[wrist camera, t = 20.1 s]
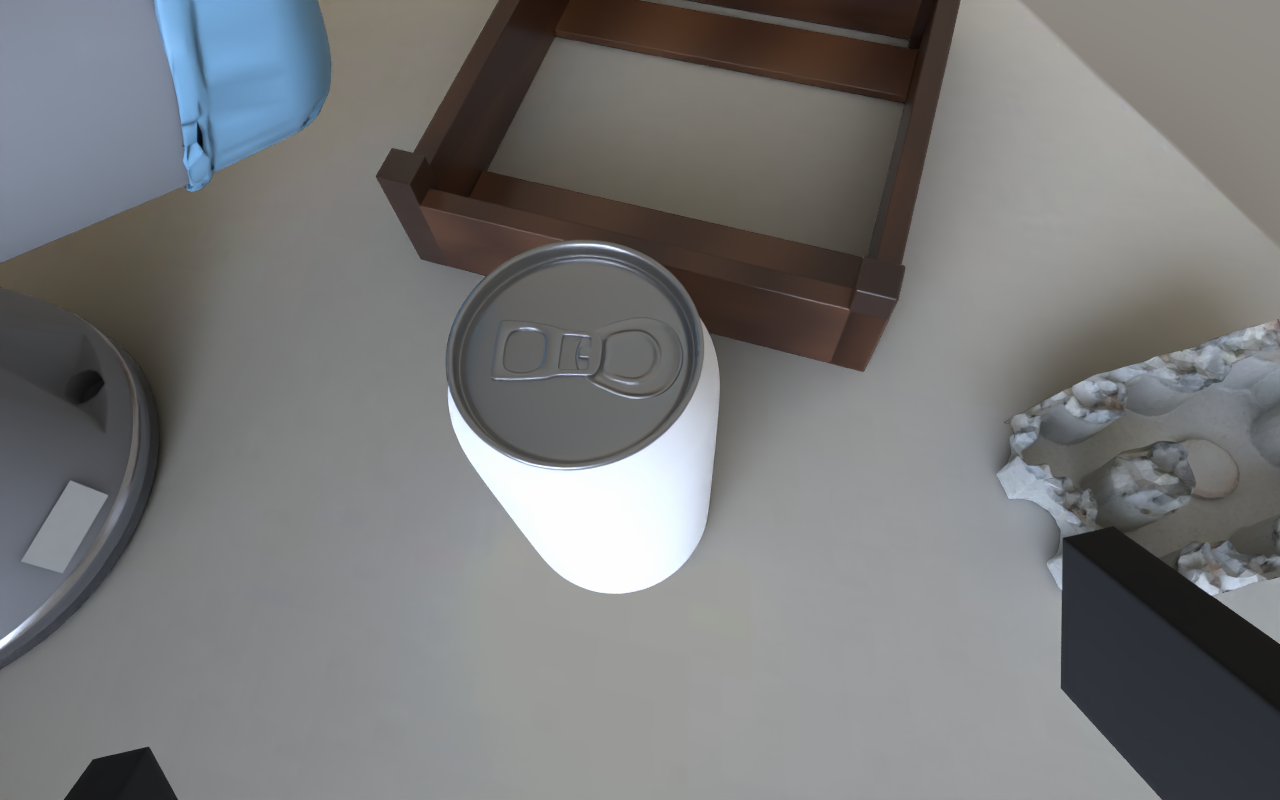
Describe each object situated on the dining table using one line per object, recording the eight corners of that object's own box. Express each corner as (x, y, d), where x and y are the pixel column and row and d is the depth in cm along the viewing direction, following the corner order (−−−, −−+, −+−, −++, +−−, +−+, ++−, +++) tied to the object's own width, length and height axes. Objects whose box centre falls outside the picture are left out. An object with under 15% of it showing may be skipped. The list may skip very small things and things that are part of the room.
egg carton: (1234, 359, 28) (1318, 300, 25) (1364, 552, 25) (1482, 518, 22) (966, 430, 28) (1011, 381, 24) (1066, 637, 25) (1134, 618, 21)
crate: (420, 259, 32) (374, 176, 27) (572, -32, 39) (557, -138, 35) (863, 372, 29) (898, 300, 24) (942, 32, 36) (981, -76, 31)
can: (704, 603, 26) (719, 499, 15) (516, 590, 26) (397, 480, 15) (712, 426, 28) (728, 227, 17) (541, 418, 29) (453, 219, 18)
